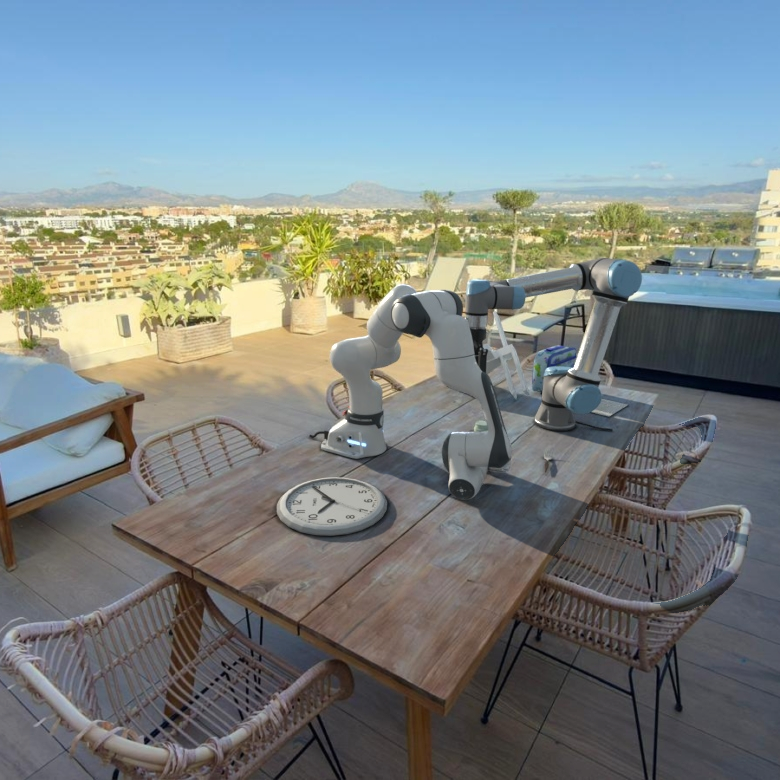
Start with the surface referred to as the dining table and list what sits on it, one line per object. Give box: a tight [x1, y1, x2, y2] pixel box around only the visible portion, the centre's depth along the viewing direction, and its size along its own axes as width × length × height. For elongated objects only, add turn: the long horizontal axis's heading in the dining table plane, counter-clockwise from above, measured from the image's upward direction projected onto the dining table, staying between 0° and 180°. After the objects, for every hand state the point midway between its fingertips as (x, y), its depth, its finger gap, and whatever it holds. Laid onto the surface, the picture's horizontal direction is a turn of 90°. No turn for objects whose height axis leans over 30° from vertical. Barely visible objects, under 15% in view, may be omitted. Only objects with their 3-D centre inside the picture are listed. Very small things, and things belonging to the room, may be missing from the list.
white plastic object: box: [476, 310, 531, 400], centre depth 245 cm, size 37×45×31 cm
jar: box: [473, 420, 488, 432], centre depth 165 cm, size 5×5×15 cm
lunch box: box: [531, 345, 577, 393], centre depth 245 cm, size 26×11×21 cm, turn 134°
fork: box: [543, 448, 554, 473], centre depth 170 cm, size 3×16×2 cm, turn 160°
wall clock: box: [276, 476, 388, 537], centre depth 142 cm, size 30×2×30 cm
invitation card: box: [590, 398, 629, 418], centre depth 226 cm, size 21×1×15 cm
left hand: (481, 448), depth 166 cm, fingers closed on jar, 5 cm apart
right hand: (470, 393), depth 180 cm, fingers closed on lid, 6 cm apart
